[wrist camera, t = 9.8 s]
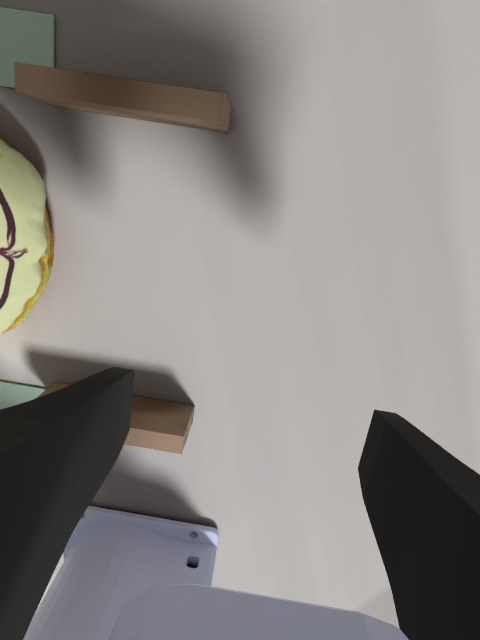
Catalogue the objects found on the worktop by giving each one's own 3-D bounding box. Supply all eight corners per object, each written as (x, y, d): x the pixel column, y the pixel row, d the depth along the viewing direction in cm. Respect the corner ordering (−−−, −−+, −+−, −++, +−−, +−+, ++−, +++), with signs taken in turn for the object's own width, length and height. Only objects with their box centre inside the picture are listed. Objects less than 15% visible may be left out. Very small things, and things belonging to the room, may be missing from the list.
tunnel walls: (232, 108, 18) (224, 93, 15) (192, 421, 23) (181, 453, 20) (54, 81, 18) (14, 61, 15) (53, 397, 23) (23, 427, 20)
